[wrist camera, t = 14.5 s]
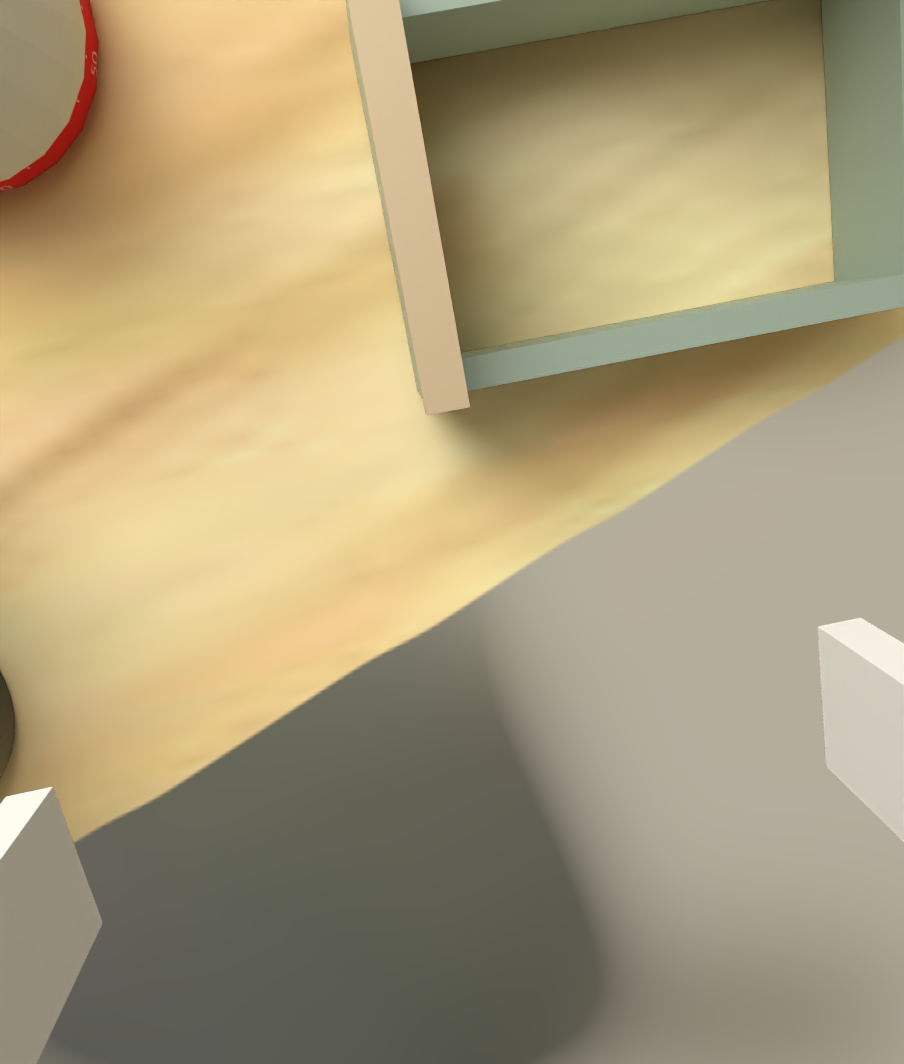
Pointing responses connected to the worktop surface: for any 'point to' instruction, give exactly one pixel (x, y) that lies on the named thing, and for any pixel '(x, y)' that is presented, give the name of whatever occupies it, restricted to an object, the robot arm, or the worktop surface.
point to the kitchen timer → (43, 83)
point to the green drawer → (859, 288)
